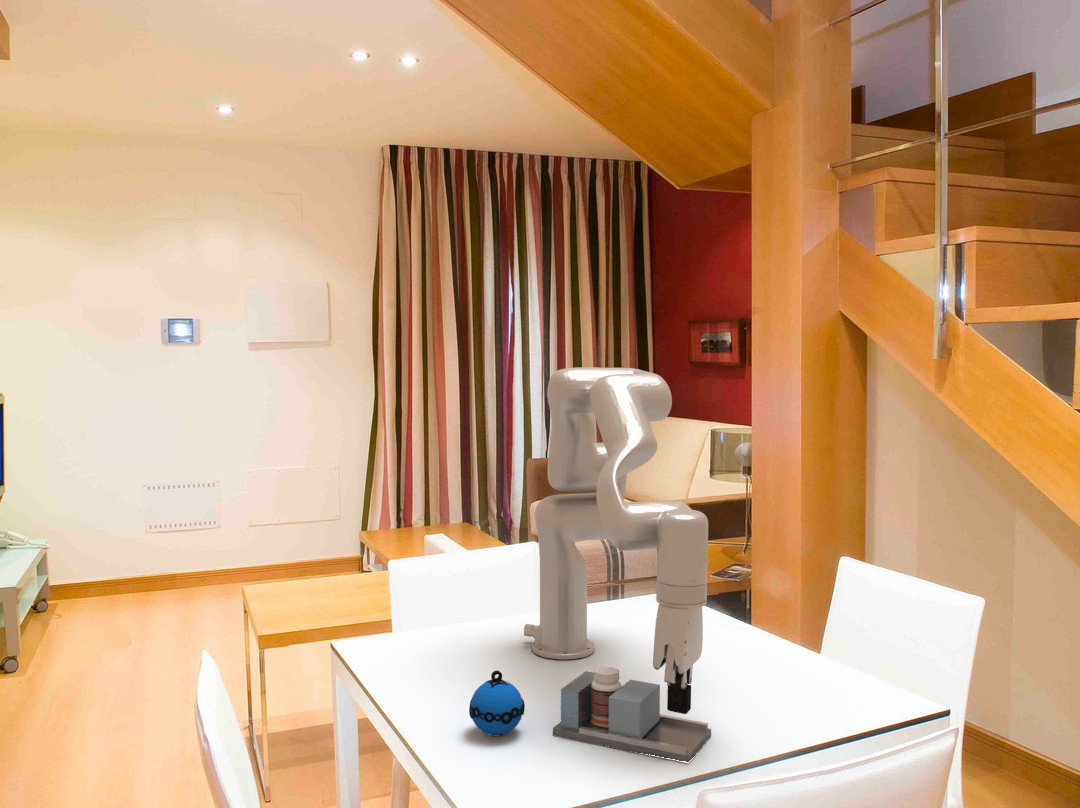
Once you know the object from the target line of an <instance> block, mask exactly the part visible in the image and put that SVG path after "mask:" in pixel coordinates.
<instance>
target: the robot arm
mask: <svg viewBox="0 0 1080 808" xmlns="http://www.w3.org/2000/svg"><path fill="white" fill-rule="evenodd" d="M546 394H547V404H548V407H549V411H550V418H551V429H550V430H551V431H550V438H549V439H550V440H549V448H548V459H547V480H548V483H549V485H550V487H552V488H553V489H554V490H557V491H559V492H576V493H563V494H553V495H548V496H547V497H544V498H542V499H541V500H540V501H539V502H538V503H537V505H536V507H535V510H534V511H535V512H534V519H535V527H536V535H537V541H538V549H539V550H538V551H539V554H538V555H539V625H535V624H530V623H526V624H524V626H523V627H524V628H523V636H525V637H531V638H534V641H533V642H532V644H531V650H532V652H533V653H534V654H536V655H537V656H539V657H542V658H547V659H552V660H576V659H582V658H585V657H588V656H590V655H592V654H593V653H594V652H595V649H596V648H595V644H594V642H593V641H591V640H590V639H588V566H587V560H586V559H585V557H584V555H583V554H582V552H581V551H580V550H579V549H578V548H577V546H576V543H579V542H584V541H585V542H586V541H599V540H607V539H608V540H609V542H610V543H611V545H612V546H613V547H614V548H616V549H618V550H620V551H622V552H623V551H624V552H626V551H627V552H628V551H644V550H655V549H656V550H657V551H656V554H657V557H656V588H655V589H656V592H655V593H656V595H655V596H656V598H655V601H656V603H657V604H658V606H657V611H656V618H655V627H654V637H653V640H654V641H653V652H652V653H653V654H652V667H653V669H654V670H660V669H661V668H662V667H663V666H665V667H664V668H665V669H664V674H663V675H664V676H663V682H664V683H666V686H667V695H666V696H667V698H666V699H667V700H666V701H667V704H666V705H667V706H666V708H667V711H668V712H673V713H678V714H683V715H687V714H688V713H689V712H690V710H691V709H692V704H691V703H692V685H691V684H692V681H693V669H694V667H693V666H694V665H695V663H696V662H697V661H698V660H699V659H701V658H700V657H701V656H702V653H703V652H702V651H703V641H704V640H703V639H704V637H703V636H704V635H703V634H704V633H703V631H704V629H703V626H704V625H703V621H704V619H703V607H704V606H706V605H707V598H708V597H707V596H708V560H709V559H708V557H709V555H708V554H709V553H708V552H709V550H708V549H709V520H708V517H707V515H706V514H705V513H703V512H702V511H699V510H696V509H695V510H694V509H692V508H691V507H690V506H689V505H688V504H687V503H685V502H684V501H681V500H673V499H667V500H666V499H665V500H644V501H626V502H625V495H626V485H627V478H628V473H630V472H633V471H634V470H636V469H639V468H640V467H643V465H645V464H647V463H648V462H650V460H651V459H653V457H655V455H656V453H657V450H658V442H657V439H656V437H655V434H654V433H655V432H654V431H653V428H652V426H651V424H650V422H658V421H663V420H665V418H667V417H668V416H669V414H670V413H671V410H672V406H673V397H672V392H671V389H670V387H669V385H668V383H667V381H665V379H664V378H663V377H662V376H661V375H659V374H657V373H654V372H650V371H646V370H642V369H638V368H634V367H597V366H595V367H592V366H591V367H565V368H561V369H558V370H556V371H554V372H553V374H552V375H551V377H550V378H549V381H548V384H547V391H546ZM592 414H593V415H592ZM594 418H595V419H594ZM595 421H596V423H595ZM596 424H597V426H598V431H599V433H600V436H601V440H602V442H594V441H595V433H596ZM589 491H590V492H589ZM591 491H592V492H591ZM593 491H595V492H593ZM577 492H586V493H577Z"/></svg>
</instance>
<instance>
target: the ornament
mask: <svg viewBox="0 0 1080 808" xmlns="http://www.w3.org/2000/svg"><path fill="white" fill-rule="evenodd" d="M490 675H491V676H490V677H491V679H489V680H487V681H485V682H484V683H482V684H481V685H479V686H478V687H477V688H476V689H475V691H474V692H473V695H472V696H471V698H470V701H469V707H468V714H469V718H470V719H472V721H473V724H474V725H475V726H476V728H478V730H479V731H481V732H482V733H484V734H485V735H488V736H489V735H490V736H494V737H498V736H499V737H501V736H503V735H504V736H505V735H506V734H508V733H510V732H511V731H513V730H514V729H515V728H516V727H517V726H518V725H519V723H520V721H521V720H522V716H524V714H525V707H526V705H525V701H524V698H522V695H521V693H520V691H519V690H518V689H517V687H516V686H514V684H512V683H510V682H509V681H507V680H504V679H503V674H502V672H501V671H499V670H494V671H492V672H491V674H490ZM496 675H498V676H497V677H496Z"/></svg>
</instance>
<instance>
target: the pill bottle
mask: <svg viewBox="0 0 1080 808" xmlns="http://www.w3.org/2000/svg"><path fill="white" fill-rule="evenodd" d="M593 673H594V681H593V682H592V685H591V695H592V698H591V701H592V702H591V721H592V723H593V724H594V725H596V726H599V727H604V728H609V697H610V696H611V695H612V694H613V693H615V692H616V691H617V690H618V689H620V688H621V687H622V686H623V685H622V683H621V681H619V680H620V669H618V668H616V667H613V666H598V667H595V668H594V670H593Z"/></svg>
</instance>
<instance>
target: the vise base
mask: <svg viewBox="0 0 1080 808" xmlns="http://www.w3.org/2000/svg"><path fill="white" fill-rule="evenodd" d="M593 681H594V671H593V672H592V671H588V670H587V671H585V672H583V673H582V674H580V675H579V676H577V677H576V678H574V679H573V680H572V681H570V682H569V683H568V684H566V685H565V686H563V687H562V688H561V689H560V722H558V723H557V724H556V725H554V726H553V727H552V736H554V737H560V738H564V739H568V740H573V741H578V742H583V743H588V744H592V745H595V746H596V745H597V746H600V747H601V746H602V747H605V746H607V747H606V748H610V747H614V748H613V749H615V748H617V749H616V750H619V749H621V750H620V751H624V750H626V751H625V752H629V751H632V752H631V753H634V752H637V753H636V754H638V753H643V754H648V755H649V754H650V755H655V756H659V757H664V758H670V759H675V760H679V761H686V762H689V761H690V760H691V759H692V758H693V757H694V756H695V755H696V753H697V752H698V751H699V750H700V749H701V750H702V749H703V747H704V746H705V745H706V743H707V742H708V741H709V740H710V739H711V737H712V728H709V723H708V722H703V721H697V720H691V719H688V718H682V717H676V716H671V715H666V714H662V713H660V720H659V721H658V722H657V723H656V724H655V725H654V726H653V727H652V728H651V729H650V730H649V731H648V732H647V733H646V734H645V735H644V736H643V737H642V738H636V737H632V736H627V735H622V734H617V733H612V732H609V728H604V727H599V726H596V725H594V724H593V723H592V721H591V702H592V701H591V698H592V695H591V685H592V682H593ZM708 739H709V740H708ZM707 740H708V741H707ZM706 741H707V742H706ZM704 744H705V745H704ZM703 745H704V746H703ZM608 746H609V747H608ZM702 746H703V747H702ZM701 750H700V751H701ZM700 751H699V752H700ZM699 752H698V753H699ZM698 753H697V754H698ZM643 754H642V755H643ZM648 755H647V756H648ZM696 756H697V755H696ZM696 756H695V757H696ZM695 757H694V758H695ZM694 758H693V759H694ZM693 759H692V760H693Z"/></svg>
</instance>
